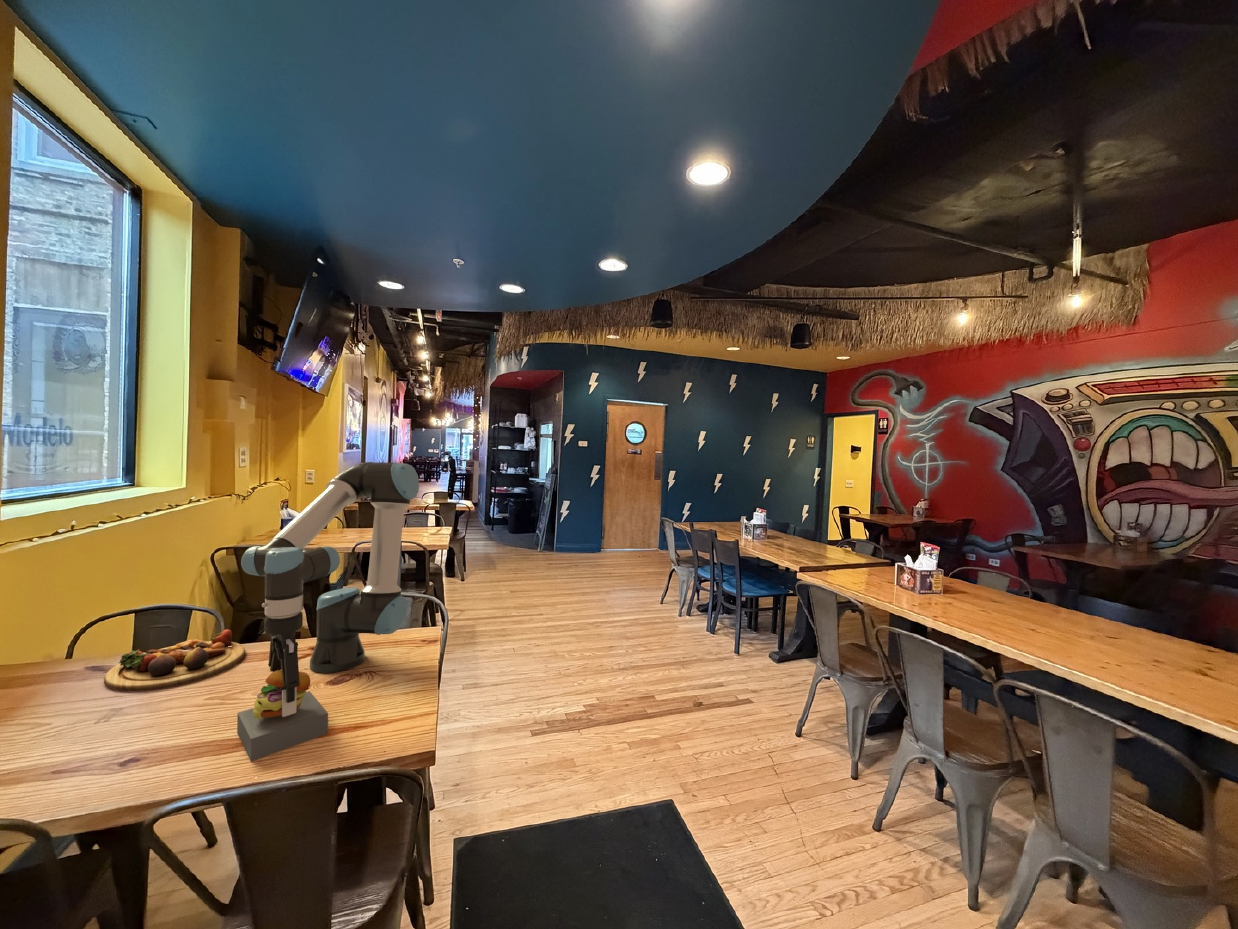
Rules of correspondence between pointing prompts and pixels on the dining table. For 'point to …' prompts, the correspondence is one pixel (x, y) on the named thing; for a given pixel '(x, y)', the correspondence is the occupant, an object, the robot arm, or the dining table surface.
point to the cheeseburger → (277, 695)
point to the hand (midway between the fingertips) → (283, 705)
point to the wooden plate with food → (175, 664)
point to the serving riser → (281, 728)
